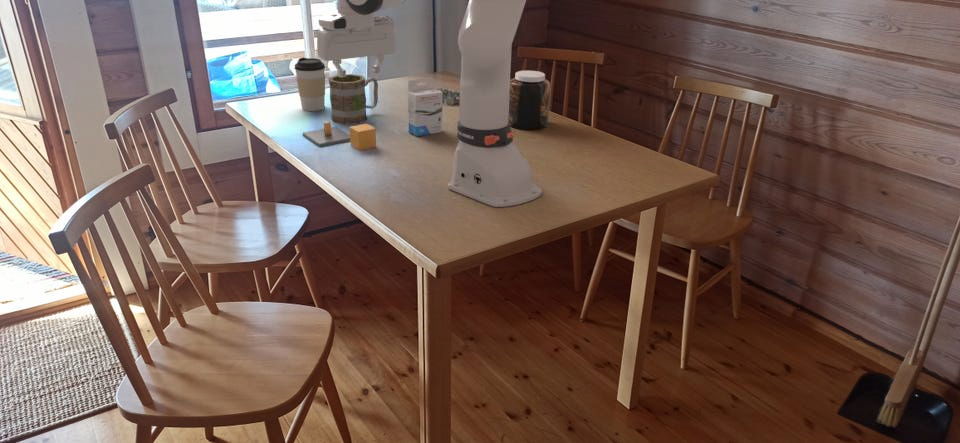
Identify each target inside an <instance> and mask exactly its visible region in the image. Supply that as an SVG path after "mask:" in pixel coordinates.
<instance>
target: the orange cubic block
mask: <svg viewBox="0 0 960 443" xmlns="http://www.w3.org/2000/svg"><path fill="white" fill-rule="evenodd" d="M348 128H349V135H350V141H349V142H350V145H351V146H352V147H353V148H355V149H357V150H358V151H362V150H367V149H372V148H376V147H377V135H376V134H377V133H376V131H377V130H376V128H375V127H373V125H370V124H368V123H363V124H358V125H353V126H349V127H348Z"/></svg>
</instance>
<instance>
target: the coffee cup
mask: <svg viewBox="0 0 960 443" xmlns="http://www.w3.org/2000/svg"><path fill="white" fill-rule="evenodd" d="M325 69H326V66H325V63H324V62H322V59H321V58H320V59H319V58H314V57H313V58H312V57H309V58H308V57H300V58H298V60H297V63H295V64H294V70H295V75H296V76H295V78H296V83H297V89H298V93H299V94H298V95H299V98H300V99H299V100H300V103H301V109H302V111H306V112H316V111H322V110H324V109H325V106H326V105H325V97H326V96H325V95H326V74H325Z"/></svg>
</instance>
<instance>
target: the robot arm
mask: <svg viewBox="0 0 960 443" xmlns="http://www.w3.org/2000/svg"><path fill="white" fill-rule="evenodd" d="M405 1H406V0H337V3H336V8H337V9H336V10H334V11H331V12H329V13H328V14H325V15H322V16H321V17H319V18H318V25H319V27H321V28H320V29H319V30H318V31H317V32H318V33H317V36H316V37H317V38H316V40H317V41H316V42H317V43H316V49H317V50H316V52H317V55H318V57H319V58H320V60H321V61H322V60H323V61H325V62H330V61H331V62H332V64H333V65H334V68H335V69H336V70H337V75H338V77H340V78H342V77H346V74H347V70H346V69H344V68H342V66H341V65H342V60H347V59H357V58H364V57H374V58H375V61H374V64H372V65H371V73H373V74H378V73H380V72H381V64H382V63H383V61H384V59H385V58H384V55H392V54H394V53H395V52H396V50H397V41H396V35H395V21H394V19H393V18H392V17H390V16H389V15H382V16H378V15H377V16H375V13H376V12H377V11H382V10H385V9H386V10H387V9H390V8H392V7H395V6H399V5H401V4H403V3H404V2H405ZM526 2H527V0H469V1H468V4H467V7H466V10H465V13H464V15H463V20H462V23H461V25H460V28H459V32H458V37H457V44H458V49H459V52H460V53H461V62H460V63H461V64H460V65H461V66H460V80H459V81H460V82H459V90H460V103H459V120H458V122H457V127H456V133H457V135H456V136H457V139H458V143H457V146H456V149H455V150H454V154H453V162H452V172H451V174H452V175H451V180H449V182H448V184H447V189H448V190H451V191H454V192H455V193H459V194H460V195H463V196H466V197H468V198H471V199H473V200H476V201H479V202H481V203H484V204H486V205H488V206H491V207H494V208H499V207H500V208H504V207H511V206H516V205H521V204H524V203H527V202H530V201H533V200H535V199H537V198H538V197H541V195H542V194H543V191H542V188H540V187H539V186H538V185H537V184H535V183H534V182H532V169H531V167H530V163H529V160H528V159H527V158H525V157H523V155H522V154H521V152H520V151H519V149H518V147H517V146H516V145H515V143H514V138H515V137H516V135H515V134H516V133H517V132H516V131H512V127H510V123H509V122H508V118H509V94H510V80H511V70H512V68H511V66H512V64H511V63H512V45H513V42H514V39H515V36H516V34H517V30H518V27H519V24H520V20H521V18H522V14H523V11H524V9H525V5H526Z"/></svg>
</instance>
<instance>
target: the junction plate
mask: <svg viewBox="0 0 960 443" xmlns="http://www.w3.org/2000/svg"><path fill="white" fill-rule="evenodd" d="M331 122H332V121H323V125H322V126H323V128H321V129H317V130H315V129H314V130H309V131H304V132H302V136H303V137H304V138H306V139H307V140H309V141H311V142H312V143H313V144H315V145H316V146H318V147H319V148H320V147H325V146H331V145H335V144H340V143H342V144H343V143H345V142H350V133H347V132H346V131H344V130H342V129H341V128H339V127H337V126H333V127H332V123H331Z"/></svg>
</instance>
